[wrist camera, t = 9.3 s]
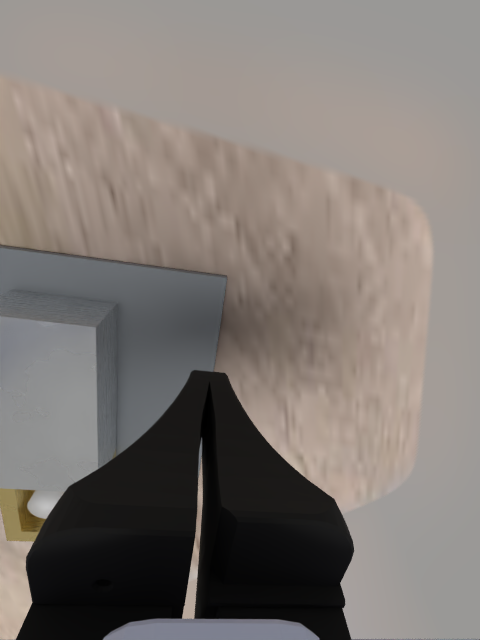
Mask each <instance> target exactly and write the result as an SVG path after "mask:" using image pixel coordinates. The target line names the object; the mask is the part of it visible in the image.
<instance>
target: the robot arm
mask: <svg viewBox="0 0 480 640" xmlns="http://www.w3.org/2000/svg"><path fill="white" fill-rule="evenodd" d="M201 438H202V472H203V507H202V522H201V537H200V551H199V565H198V578H197V591H196V604H195V618H194V619H182V614H183V608H184V605H185V598H186V592H187V585H188V579H189V572H190V566H191V560H192V553H193V547H194V540H195V532H196V518H197V494H198V467H199V449H200V444H201ZM353 553H354V546H353V541H352V538H351V536H350V532H349V530H348V527H347V525H346V523H345V520H344V518H343V516H342V514H341V512H340V510H339V508H338V506H337V504H336V502H335V500H334V499H333V498H332V497H331V496H329V495H328V494H326V493H325V492H324V491H322V490H321V489H320V488H318V487H317V486H315V485H314V484H313V483H311V482H310V481H309V480H307V479H306V478H305V477H304V476H303V475H301V474H300V473H299V472H298V471H297V470H295V469H294V468H293V467H292V466H291V465H290V464H289V463H288V462H286V461H285V460H284V459H283V458H282V457H281V456H280V455H279V454H278V453H277V452H276V451H275V450H274V449H273V448H272V446H271V445H270V444H269V443H268V442H267V441H266V440H265V438H264V437H263V436H262V435H261V433H260V432H259V431H258V429H257V428H256V427H255V425H254V424H253V423H252V421H251V420H250V418H249V417H248V415H247V414H246V412H245V410H244V409H243V407H242V405H241V403H240V402H239V400H238V398H237V396H236V394H235V392H234V390H233V388H232V386H231V384H230V381H229V379H228V376H227V375H226V373H220V372H210V371H200V370H193V371H192V372H191V373H190V376H189V378H188V380H187V382H186V384H185V385H184V387H183V389H182V390H181V392H180V393H179V394H178V396H177V397H176V399H175V400H174V401H173V403H172V404H171V405H170V406H169V408H168V409H167V410H166V411H165V412H164V414H163V415H162V416H161V417H160V418H159V419H158V420H157V421H156V422H155V423H154V425H152V426H151V427H150V428H149V429H148V430H147V431H146V432H145V433H144V434H143V435H142V436H141V437H140V438H139V439H137V440H136V441H135V442H134V443H133V444H132V445H130V446H129V447H128V448H127V449H125V450H124V451H123V452H121V453H120V454H119V455H117V456H116V457H114V458H113V459H112V460H110V461H109V462H108V463H106V464H105V465H103V466H102V467H100V468H99V469H97V470H96V471H94V472H92V473H91V474H89V475H87V476H86V477H84V478H82V479H81V480H79V481H77V482H75V483H74V484H72V485H70V486H69V487H68V488H67V489H66V491H65V492H64V493H63V495H62V496H61V498H60V499H59V500H58V502H57V503H56V505H55V506H54V508H53V509H52V511H51V512H50V514H49V515H48V517H47V518H46V520H45V522H44V523H43V525H42V527H41V529H40V531H39V533H38V535H37V537H36V539H35V541H34V543H33V545H32V547H31V549H30V551H29V553H28V555H27V557H26V571H27V576H28V581H29V587H30V592H31V597H32V602H33V603H32V605H31V607H30V609H29V612H28V614H27V616H26V618H25V621H24V623H23V625H22V627H21V629H20V632H19V634H18V636H17V638H16V640H480V639H351V637H350V634H349V630H348V627H347V624H346V620H345V616H344V613H343V609H342V608H344V606H345V598H344V595H343V591H342V588H341V585H340V582H341V580H342V578H343V576H344V574H345V572H346V570H347V568H348V566H349V564H350V562H351V559H352V556H353Z"/></svg>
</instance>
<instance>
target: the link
mask: <svg viewBox="0 0 480 640" xmlns="http://www.w3.org/2000/svg"><path fill="white" fill-rule="evenodd" d="M117 353H118V302H112V301H104V300H96V299H88V298H80V297H72V296H65V295H57V294H49V293H41V292H33V291H25V290H17V289H11V290H9V291H7V292H5V293H3V294H1V295H0V506H1V512H2V517H3V522H4V528H5V533H6V538H7V541H35V539H36V537H37V535H38V533H39V531H40V529H41V527H42V525H43V523H44V522H45V520H46V519H43V518H39V517H36V516H34V515H33V514H32V513H30V511H29V510H28V507H27V504H28V502H29V500H30V498H31V497H32V495H33V493H34V492H35V490H42V491H61V492H65V491H66V489H67V488H68V487H69V486H70V485H72V484H74V483H75V482H77V481H79V480H81V479H82V478H84V477H86V476H87V475H89V474H91V473H92V472H94V471H96V470H97V469H99V468H100V467H102V466H103V465H105V464H106V463H108V462H109V461H110V460H112V459H113V458H114V457H116V425H117Z"/></svg>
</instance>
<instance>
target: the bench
mask: <svg viewBox="0 0 480 640" xmlns="http://www.w3.org/2000/svg"><path fill="white" fill-rule="evenodd" d="M226 282H227V276H224V275H216V274H209V273H201V272H194V271H187V270H179V269H172V268H164V267H157V266H150V265H142V264H135V263H128V262H120V261H113V260H105V259H98V258H91V257H83V256H76V255H68V254H61V253H54V252H46V251H39V250H31V249H24V248H17V247H9V246H2V245H0V295H1V294H3V293H5V292H7V291H9V290H11V289H17V290H25V291H33V292H41V293H49V294H57V295H65V296H72V297H80V298H88V299H96V300H104V301H112V302H118V353H117V425H116V456H117V455H119V454H120V453H121V452H123V451H124V450H125V449H127V448H128V447H129V446H130V445H132V444H133V443H134V442H135V441H136V440H137V439H139V438H140V437H141V436H142V435H143V434H144V433H145V432H146V431H147V430H148V429H149V428H150V427H151V426H152V425H154V423H155V422H156V421H157V420H158V419H159V418H160V417H161V416H162V415H163V414H164V412H165V411H166V410H167V409H168V408H169V406H170V405H171V404H172V403H173V401H174V400H175V399H176V397H177V396H178V394H179V393H180V392H181V390H182V389H183V387H184V385H185V384H186V382H187V380H188V378H189V376H190V373H191V372H192V371H193V370H200V371H210V372H214V365H215V358H216V351H217V344H218V338H219V331H220V324H221V317H222V310H223V303H224V296H225V289H226ZM201 456H202V438H201V444H200V449H199V467H198V476H199V469H200V462H201ZM63 493H64V492H61V491H42V490H35V492H34V493H33V495H32V497H31V498H30V500H29V502H28V504H27V507H28V510H29V511H30V513H32V514H33V515H34V516H36V517H39V518H43V519H46V518H47V517H48V515H49V514H50V512H51V511H52V509H53V508H54V506H55V505H56V503H57V502H58V500H59V499H60V498H61V496H62V495H63Z"/></svg>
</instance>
